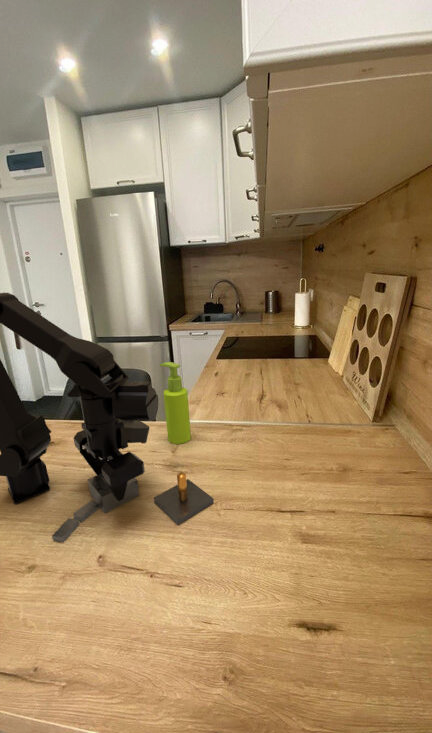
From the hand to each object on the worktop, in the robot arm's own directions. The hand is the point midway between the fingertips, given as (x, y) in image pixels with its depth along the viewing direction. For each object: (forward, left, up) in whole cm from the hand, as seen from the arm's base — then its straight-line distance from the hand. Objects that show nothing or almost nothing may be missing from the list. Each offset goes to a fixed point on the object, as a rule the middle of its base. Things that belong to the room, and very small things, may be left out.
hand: (112, 490), depth 64 cm
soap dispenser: (+22, +10, -2) cm, 24 cm away
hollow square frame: (0, 0, -1) cm, 1 cm away
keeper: (+9, -11, -1) cm, 14 cm away
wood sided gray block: (-10, -3, -2) cm, 11 cm away
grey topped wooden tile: (-6, -1, -2) cm, 6 cm away
